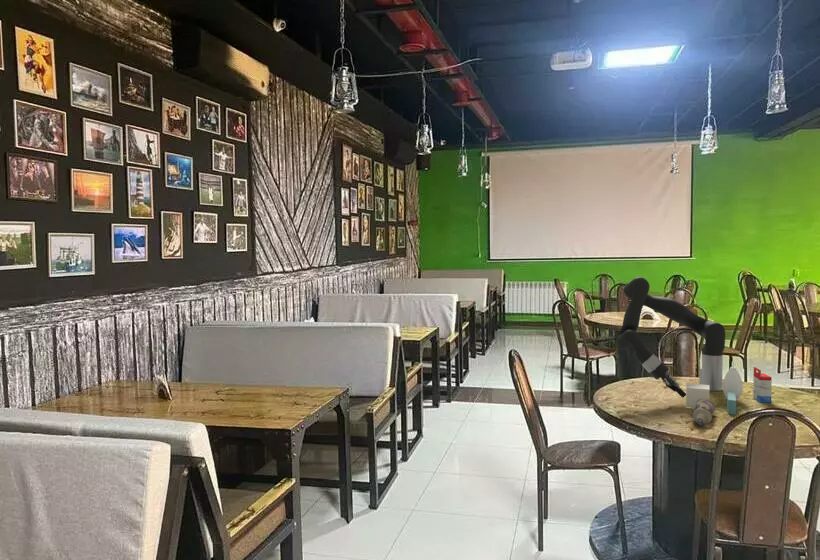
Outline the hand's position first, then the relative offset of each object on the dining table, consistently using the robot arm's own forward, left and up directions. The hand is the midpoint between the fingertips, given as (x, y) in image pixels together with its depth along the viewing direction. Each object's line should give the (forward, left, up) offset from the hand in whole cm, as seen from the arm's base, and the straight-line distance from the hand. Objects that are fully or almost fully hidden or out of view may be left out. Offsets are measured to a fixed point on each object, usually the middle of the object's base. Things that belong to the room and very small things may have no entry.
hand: (684, 396), depth 259 cm
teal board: (+15, +11, -4) cm, 19 cm away
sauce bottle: (+6, +24, -4) cm, 25 cm away
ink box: (+12, +36, -4) cm, 38 cm away
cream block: (+4, +3, -4) cm, 7 cm away
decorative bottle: (+18, -14, -4) cm, 24 cm away
